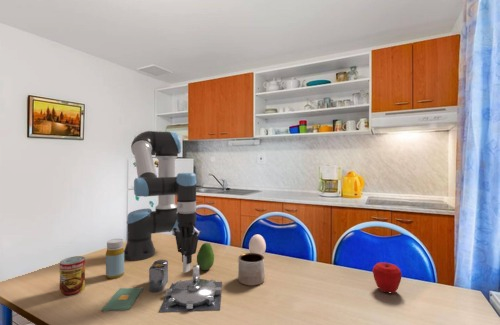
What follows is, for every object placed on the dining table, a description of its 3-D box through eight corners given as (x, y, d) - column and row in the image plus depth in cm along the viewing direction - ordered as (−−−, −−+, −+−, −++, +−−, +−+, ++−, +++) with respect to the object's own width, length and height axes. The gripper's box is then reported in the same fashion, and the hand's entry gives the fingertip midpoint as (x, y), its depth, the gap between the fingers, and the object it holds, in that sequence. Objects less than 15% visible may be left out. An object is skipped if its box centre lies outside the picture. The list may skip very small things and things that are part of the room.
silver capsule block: (155, 278, 110) (155, 259, 110) (169, 278, 111) (169, 259, 111) (147, 292, 99) (147, 271, 99) (162, 292, 99) (162, 270, 99)
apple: (398, 287, 104) (399, 259, 104) (404, 299, 95) (404, 269, 95) (371, 283, 107) (371, 256, 107) (373, 294, 98) (374, 265, 98)
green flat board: (119, 289, 101) (119, 288, 101) (142, 289, 102) (142, 287, 102) (102, 310, 87) (102, 308, 87) (128, 310, 88) (128, 307, 88)
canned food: (58, 298, 94) (57, 265, 94) (61, 289, 101) (61, 258, 101) (84, 293, 98) (83, 261, 98) (85, 284, 105) (85, 254, 105)
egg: (255, 252, 142) (255, 231, 142) (268, 256, 137) (269, 234, 137) (245, 257, 135) (245, 235, 135) (259, 261, 130) (259, 238, 130)
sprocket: (172, 282, 106) (172, 262, 106) (221, 281, 107) (221, 261, 107) (159, 310, 87) (159, 286, 86) (219, 308, 88) (219, 284, 88)
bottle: (116, 279, 109) (116, 243, 109) (102, 278, 111) (101, 242, 111) (127, 272, 116) (127, 238, 116) (113, 271, 118) (113, 237, 117)
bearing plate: (172, 283, 106) (172, 282, 106) (222, 282, 108) (222, 280, 108) (158, 312, 86) (158, 310, 86) (220, 310, 88) (220, 308, 88)
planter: (232, 280, 109) (232, 257, 109) (250, 272, 117) (250, 250, 117) (252, 289, 102) (252, 264, 102) (269, 280, 110) (270, 257, 110)
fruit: (217, 267, 122) (217, 241, 122) (207, 274, 115) (207, 246, 115) (203, 264, 125) (203, 239, 125) (193, 271, 118) (193, 244, 118)
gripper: (167, 211, 105) (168, 270, 105) (192, 215, 99) (192, 278, 99) (181, 208, 112) (181, 264, 112) (205, 211, 105) (205, 271, 105)
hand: (186, 270), depth 105 cm, fingers closed
